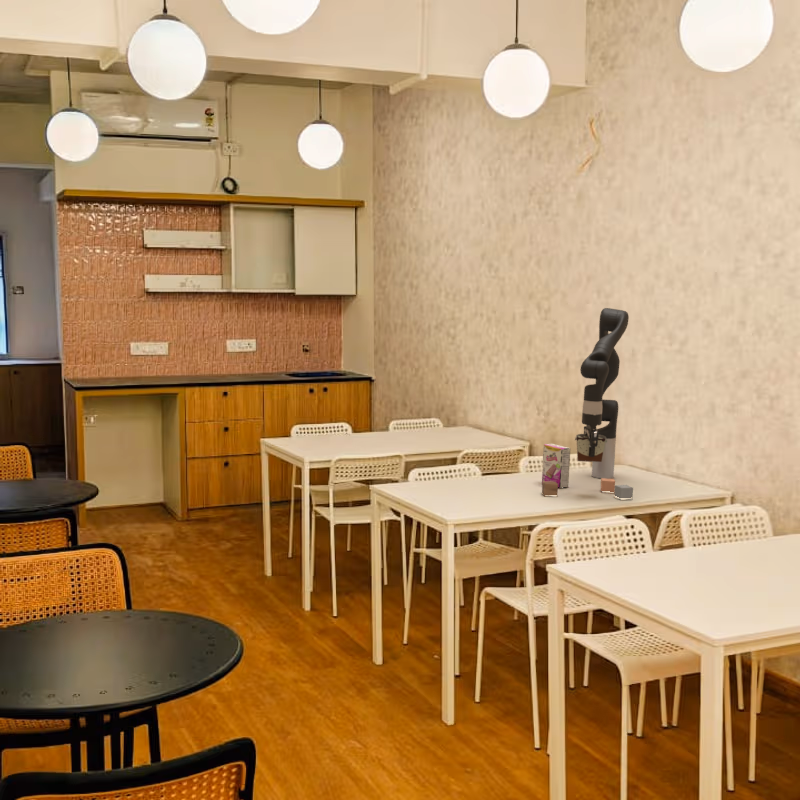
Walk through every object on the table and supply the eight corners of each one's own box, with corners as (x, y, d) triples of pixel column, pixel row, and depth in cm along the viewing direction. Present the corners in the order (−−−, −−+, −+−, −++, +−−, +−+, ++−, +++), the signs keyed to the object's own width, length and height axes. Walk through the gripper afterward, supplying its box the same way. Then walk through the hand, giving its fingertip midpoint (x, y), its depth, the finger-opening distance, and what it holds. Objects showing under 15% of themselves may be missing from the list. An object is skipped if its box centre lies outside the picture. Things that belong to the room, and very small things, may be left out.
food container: (604, 459, 394) (605, 434, 393) (605, 462, 388) (607, 437, 387) (572, 457, 396) (573, 432, 394) (573, 461, 390) (575, 435, 388)
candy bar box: (540, 483, 413) (543, 444, 411) (550, 482, 416) (552, 443, 414) (559, 488, 404) (562, 448, 402) (569, 487, 407) (571, 447, 405)
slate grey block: (614, 497, 391) (614, 485, 391) (625, 497, 393) (626, 484, 392) (620, 500, 387) (621, 488, 386) (632, 500, 388) (633, 487, 388)
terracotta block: (600, 490, 404) (601, 478, 404) (613, 491, 404) (613, 478, 403) (601, 493, 399) (602, 480, 399) (614, 493, 399) (615, 481, 398)
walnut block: (541, 493, 394) (542, 481, 394) (554, 494, 395) (555, 481, 394) (544, 496, 389) (545, 484, 389) (557, 496, 390) (557, 484, 389)
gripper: (578, 409, 396) (575, 451, 398) (587, 414, 381) (584, 458, 384) (597, 409, 396) (594, 451, 398) (606, 415, 382) (604, 459, 384)
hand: (589, 455), depth 391 cm, fingers closed on food container, 5 cm apart
